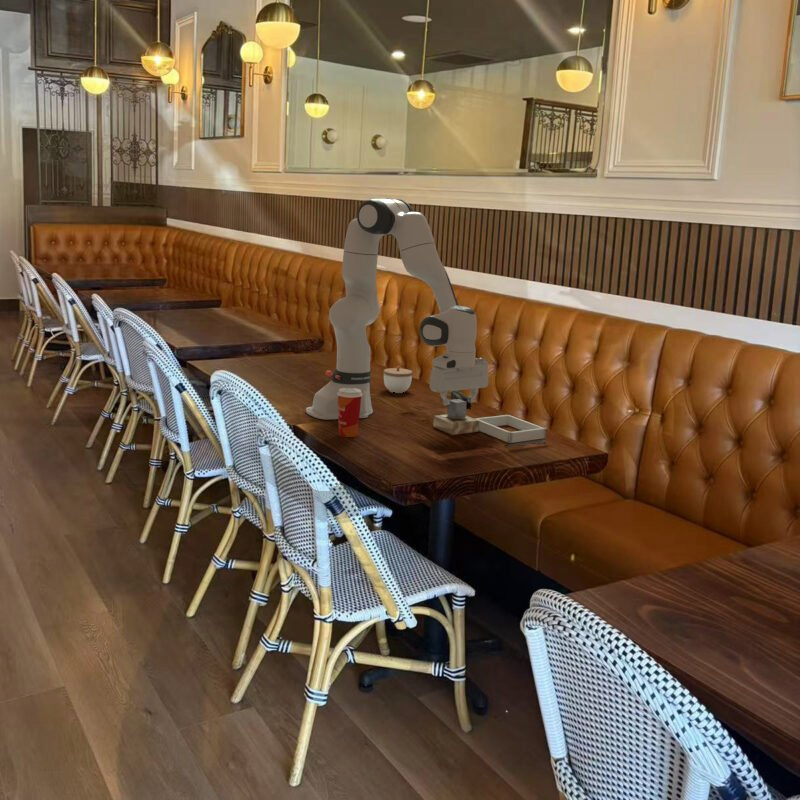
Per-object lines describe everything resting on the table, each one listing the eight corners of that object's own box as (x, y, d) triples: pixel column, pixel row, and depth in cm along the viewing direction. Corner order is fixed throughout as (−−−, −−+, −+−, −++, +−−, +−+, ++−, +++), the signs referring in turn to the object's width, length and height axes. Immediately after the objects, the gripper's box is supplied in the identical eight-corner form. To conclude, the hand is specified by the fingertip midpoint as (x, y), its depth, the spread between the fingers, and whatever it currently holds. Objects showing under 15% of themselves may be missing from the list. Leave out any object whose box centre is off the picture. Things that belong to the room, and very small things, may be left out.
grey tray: (508, 447, 260) (510, 433, 259) (472, 432, 274) (473, 418, 273) (544, 442, 267) (545, 428, 266) (507, 428, 282) (508, 414, 281)
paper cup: (335, 431, 268) (336, 386, 264) (360, 432, 268) (362, 387, 265) (335, 438, 260) (337, 392, 257) (361, 439, 261) (363, 393, 258)
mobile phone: (473, 398, 300) (454, 387, 314) (465, 398, 299) (447, 388, 312) (471, 412, 301) (453, 401, 315) (464, 412, 300) (445, 401, 314)
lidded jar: (399, 395, 319) (401, 370, 317) (376, 390, 325) (377, 366, 323) (417, 391, 327) (418, 367, 325) (394, 386, 333) (395, 362, 331)
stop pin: (454, 431, 269) (456, 402, 267) (446, 428, 272) (448, 400, 270) (464, 429, 271) (466, 401, 269) (457, 426, 274) (458, 398, 272)
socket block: (451, 439, 265) (452, 423, 264) (433, 431, 274) (433, 415, 272) (477, 436, 271) (478, 420, 269) (458, 428, 279) (459, 412, 278)
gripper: (481, 355, 275) (479, 398, 278) (427, 360, 264) (425, 404, 267) (494, 359, 269) (491, 402, 273) (439, 363, 259) (437, 409, 262)
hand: (458, 403), depth 270 cm, fingers open, 8 cm apart
